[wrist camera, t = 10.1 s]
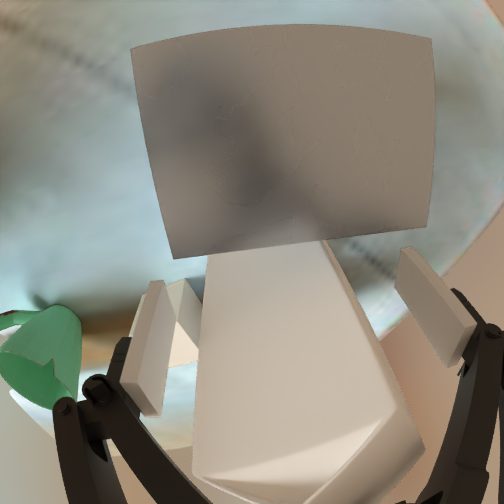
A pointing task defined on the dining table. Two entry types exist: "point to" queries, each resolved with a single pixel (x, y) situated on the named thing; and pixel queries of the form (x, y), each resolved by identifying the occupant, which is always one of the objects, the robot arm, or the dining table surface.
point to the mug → (42, 354)
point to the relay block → (181, 323)
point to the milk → (295, 384)
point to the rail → (287, 134)
